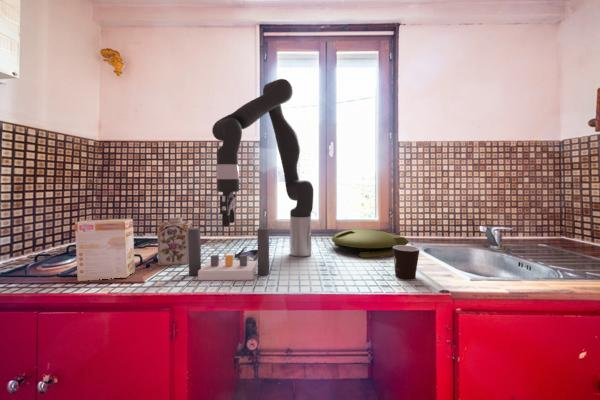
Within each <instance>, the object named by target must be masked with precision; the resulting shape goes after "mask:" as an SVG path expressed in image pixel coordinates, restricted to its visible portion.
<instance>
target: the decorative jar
mask: <svg viewBox="0 0 600 400" xmlns="http://www.w3.org/2000/svg"><path fill="white" fill-rule="evenodd" d="M192 228H194V225H193V223H192V221H187V220H183V218H182V217H180V216H179V217H169V221H165V222H162V223H160V224H159V227H158V229H157V232H156V234H157V265H158V266H159V265H161V266H177V265H178V266H179V265H189V250H188V229H192Z"/></svg>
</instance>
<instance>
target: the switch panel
mask: <svg viewBox="0 0 600 400" xmlns="http://www.w3.org/2000/svg"><path fill="white" fill-rule="evenodd" d="M247 258H248V257H247V255H240V257H239V260H233V266H225V260H220V255H219V254H212V255H210V260H208V261H207V262H206V263H205V264H204V265H203V266H201V269H200V270H199V271H198V276H197V281H223V280H224V281H228V280H230V281H232V280H234V281H237V280H238V281H239V280H243V281H244V280H246V281H247V280H253V279H254V278H255V276H256V273H257V271H258V260H256V261H251V260H248V259H247ZM255 272H256V273H255Z"/></svg>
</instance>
